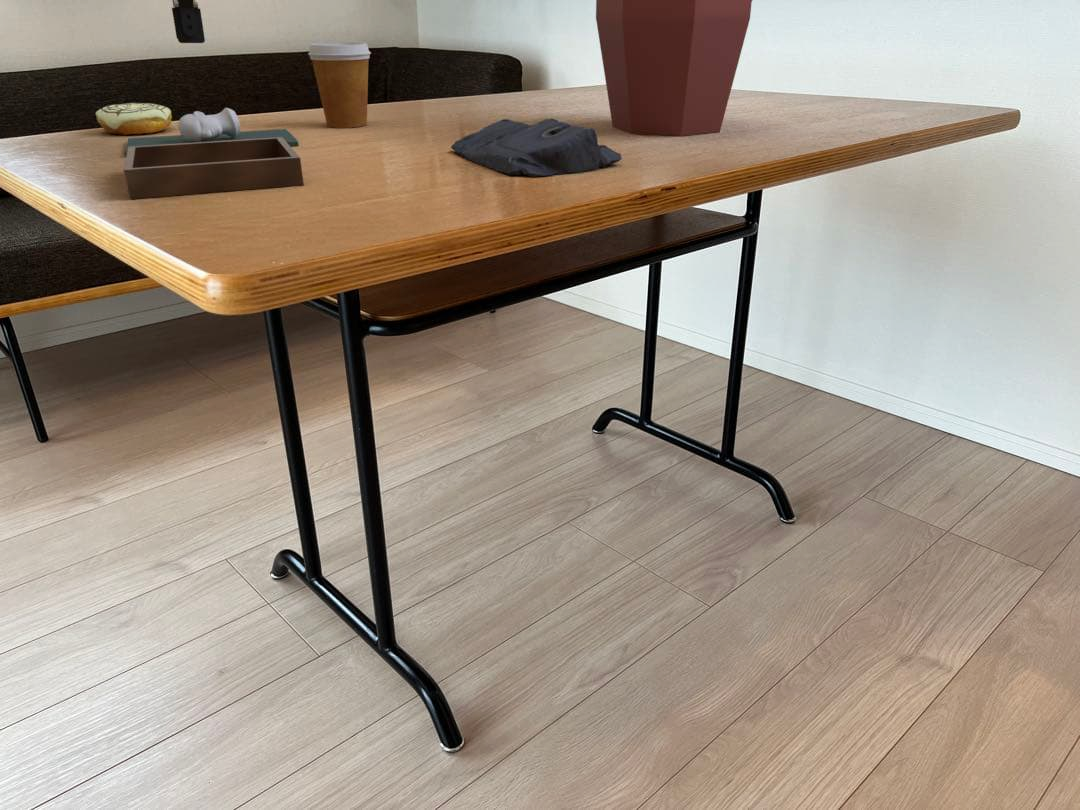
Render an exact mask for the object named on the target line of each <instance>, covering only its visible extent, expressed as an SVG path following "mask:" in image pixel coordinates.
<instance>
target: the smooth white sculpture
mask: <svg viewBox="0 0 1080 810" xmlns="http://www.w3.org/2000/svg"><path fill="white" fill-rule="evenodd" d="M177 125H178V126H177V128H178V131H179V134H180V135H182V136H183V137H184V138H185V139H186V140H188V141H191V142H205V141H209V140H212V139H214V138H217V137H219V136H220V135H221V134H226V135H229V136H230V137H232V138H235V137H236V136H237V135H238V134H239V133H240V132H241V123H240V120H239V117H238V115H237V113H236V111H235V110H233V109H231V108H230V107H229V108H228V107H225V108H223V109H222V111H220V112H218V113H215V114H205V113H204V112H202V111H199V110H196V111H194V112H193V113H187V114H184V115H183V116H181V117H180V119H179V120H178V124H177Z"/></svg>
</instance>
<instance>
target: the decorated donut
mask: <svg viewBox="0 0 1080 810" xmlns="http://www.w3.org/2000/svg"><path fill="white" fill-rule="evenodd" d="M95 116H96V121H97V123H98V124H99V126H101V128H102V129H103V130H104V131H105V132H107V133H109V134H116V135H122V136H129V135H146V134H153V133H154V134H155V133H158V132H162V131H167V130H169V128H170V126H171V124H172V118H173V116H172V110H171V109H170V108H169V107H166V106H165V105H161V104H156V103H146V102H129V103H121V104H110V105H106V106H104V107H102V108H99V109H98V110H97V111H96V112H95Z"/></svg>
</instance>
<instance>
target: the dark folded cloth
mask: <svg viewBox="0 0 1080 810" xmlns="http://www.w3.org/2000/svg"><path fill="white" fill-rule="evenodd" d="M597 135H598V134H597V131H596V129H595V128H587V127H584V126H580V125H571V124H570V123H567V122H565V121H559V120H557V119H555V118H552V117H551V118H546V119H542V120H541V121H537V122H536V123H534V124H528V123H525V122H522V121H521V122H520V121H514V120H511V119H508V118H504V119H501V120H497V121H496V122H493V123H491V124H489V125H487V126H484V127H483V128H482V129H480V130H478V131H476V132H472V133H470V134H468V135H466V136H464V137H462V138H460V139H459V140H458V139H457V140H456V141H455V142H454V143H453V144H452V145H451V146H450V148H451V149H452V150H453V151H454V152H455V153H457V155H458V156H460V157H462V158H464V159H467V160H468V161H470V162H473V163H475V164H478V165H481V166H483V167H486V168H489V169H492V170H495V171H496V172H500V173H504V174H506V175H509V176H521V175H525V176H528V177H530V178H537V177H546V176H554V175H559V174H560V175H564V174H571V173H572V174H573V173H574V174H575V173H584V172H591V171H595V170H597V169H600V168H601V169H603V168H606V167H608V166H610V165H613V164H615V163H618V162H620V161H621V160H622V158H623V157H622V155H621V153H620V152H617V151H614V150H613V149H612V148H610V147H608V146H607V145H606V144H599V142H598V136H597Z"/></svg>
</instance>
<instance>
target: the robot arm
mask: <svg viewBox="0 0 1080 810" xmlns="http://www.w3.org/2000/svg"><path fill="white" fill-rule="evenodd" d="M171 11H172V18H173V23H174V30H175V37H176V39H177V41H178V43H180V44H204V43H205V42H206V39H205V32H204V31H205V30H204V25H203V17H202V11H201V8H200V7H199V3H198V0H172V7H171Z"/></svg>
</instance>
